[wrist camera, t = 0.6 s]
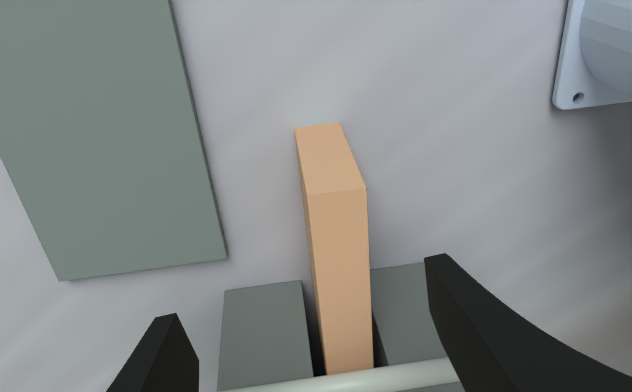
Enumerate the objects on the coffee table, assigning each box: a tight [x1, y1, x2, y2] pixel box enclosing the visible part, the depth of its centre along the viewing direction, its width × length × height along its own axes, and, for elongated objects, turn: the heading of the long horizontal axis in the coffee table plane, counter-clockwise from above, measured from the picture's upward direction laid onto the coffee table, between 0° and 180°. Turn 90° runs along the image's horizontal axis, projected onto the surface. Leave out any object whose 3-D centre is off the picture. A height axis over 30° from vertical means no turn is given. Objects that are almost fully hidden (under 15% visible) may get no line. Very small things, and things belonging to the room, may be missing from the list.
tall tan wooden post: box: [294, 122, 374, 375], centre depth 22 cm, size 2×12×6 cm, turn 5°
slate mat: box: [0, 0, 228, 282], centre depth 19 cm, size 8×16×1 cm, turn 5°
